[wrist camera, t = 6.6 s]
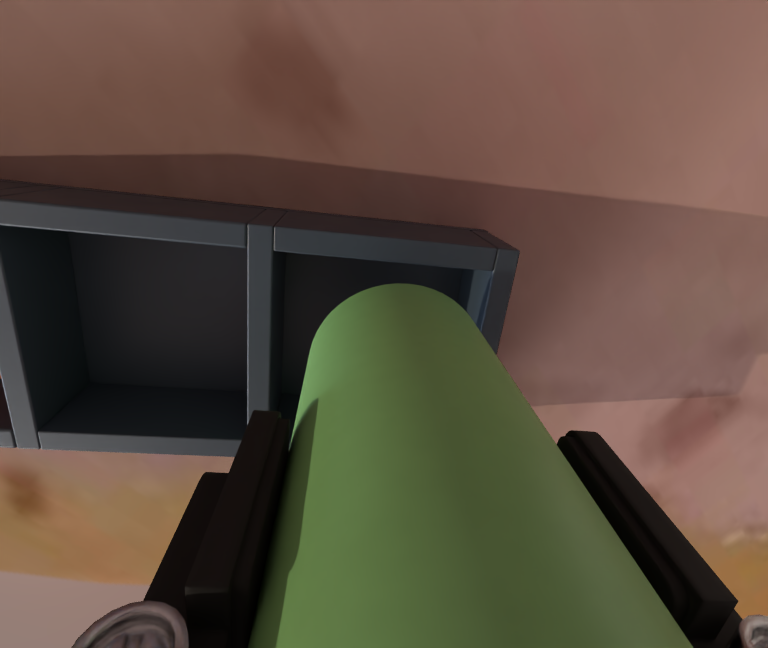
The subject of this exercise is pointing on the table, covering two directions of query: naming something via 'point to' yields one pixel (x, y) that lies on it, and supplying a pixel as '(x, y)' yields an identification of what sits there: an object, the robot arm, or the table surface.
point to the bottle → (437, 502)
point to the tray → (194, 310)
